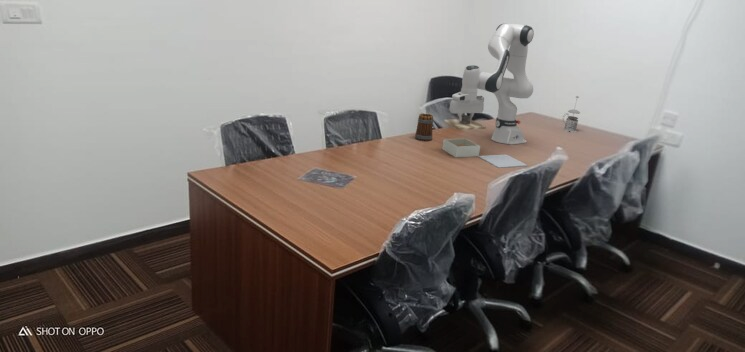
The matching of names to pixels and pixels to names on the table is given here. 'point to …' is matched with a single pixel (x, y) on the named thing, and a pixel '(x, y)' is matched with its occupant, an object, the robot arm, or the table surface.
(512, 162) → the mat
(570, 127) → the french press
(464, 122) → the lid
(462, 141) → the pale green open box
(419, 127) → the mug
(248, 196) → the table surface
